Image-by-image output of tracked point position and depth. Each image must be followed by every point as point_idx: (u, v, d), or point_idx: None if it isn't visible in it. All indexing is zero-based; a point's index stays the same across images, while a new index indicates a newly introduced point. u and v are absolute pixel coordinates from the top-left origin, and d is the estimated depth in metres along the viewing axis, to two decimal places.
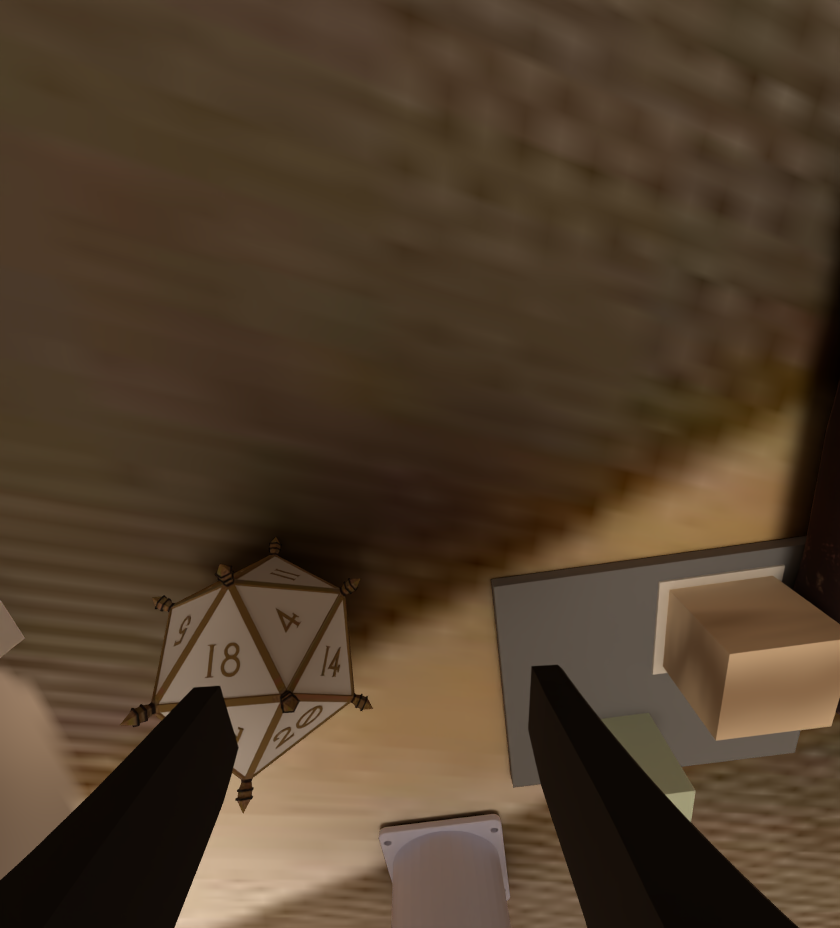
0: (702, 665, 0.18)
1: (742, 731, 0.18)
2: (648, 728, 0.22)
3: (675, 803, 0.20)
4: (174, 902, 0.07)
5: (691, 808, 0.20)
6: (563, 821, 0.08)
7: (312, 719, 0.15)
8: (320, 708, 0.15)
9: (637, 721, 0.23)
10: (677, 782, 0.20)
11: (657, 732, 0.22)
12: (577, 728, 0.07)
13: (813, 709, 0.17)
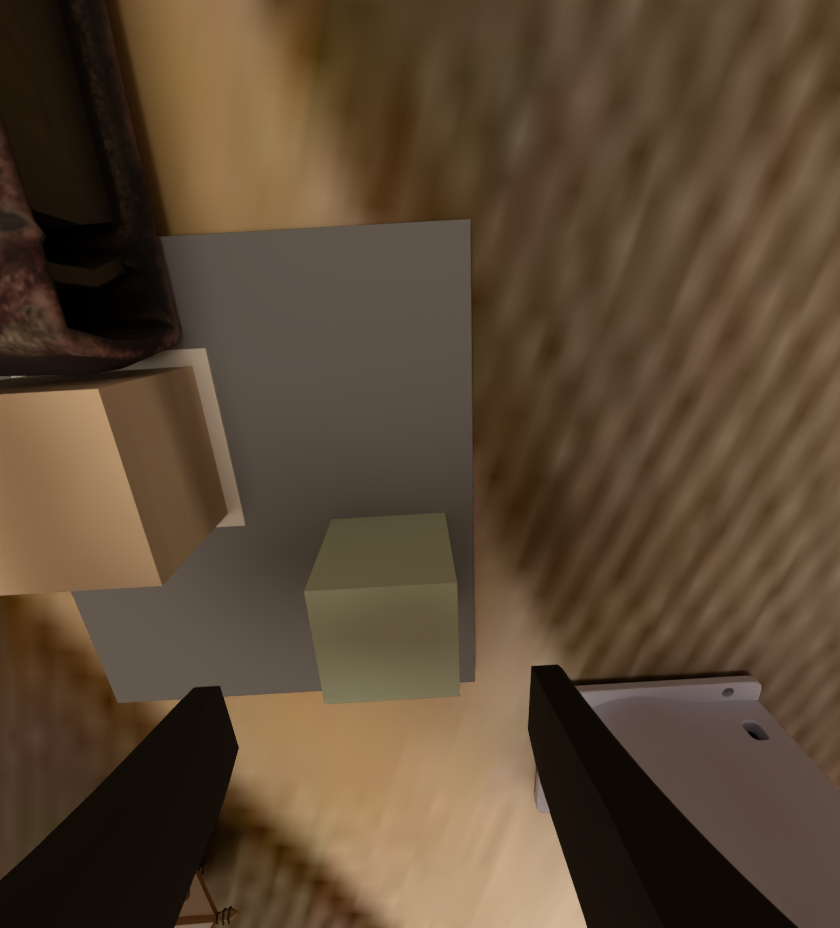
0: None
1: (134, 549, 0.10)
2: None
3: (337, 617, 0.11)
4: (173, 901, 0.07)
5: (354, 590, 0.11)
6: (563, 821, 0.08)
7: None
8: None
9: None
10: None
11: None
12: (577, 728, 0.07)
13: (57, 437, 0.09)
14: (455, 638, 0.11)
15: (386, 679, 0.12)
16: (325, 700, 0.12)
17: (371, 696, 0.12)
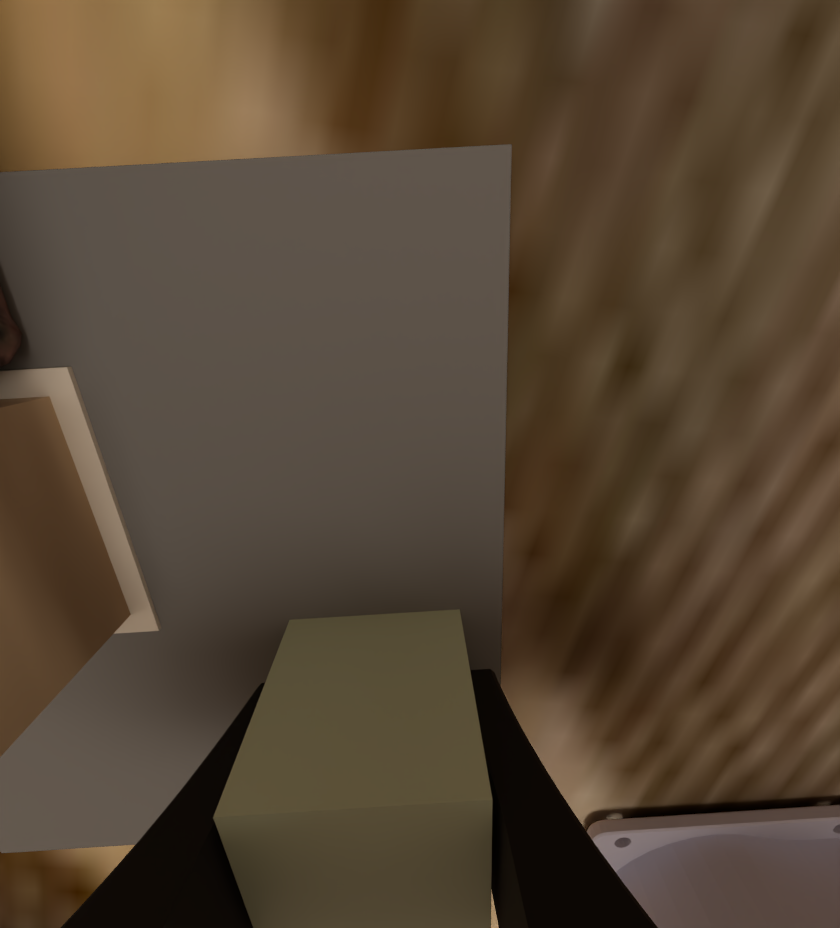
0: None
1: None
2: None
3: (278, 851, 0.06)
4: None
5: (305, 813, 0.06)
6: None
7: None
8: None
9: None
10: None
11: None
12: (493, 733, 0.07)
13: None
14: (486, 874, 0.07)
15: None
16: None
17: None
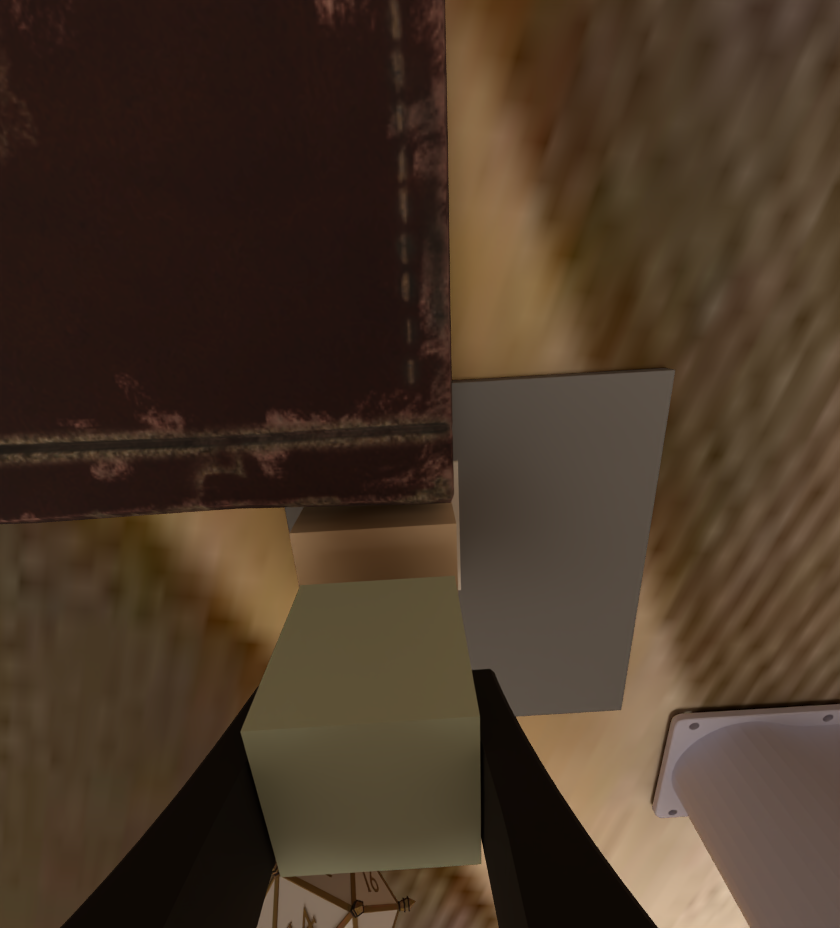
0: None
1: None
2: None
3: (295, 765, 0.07)
4: (257, 896, 0.07)
5: (319, 728, 0.07)
6: (483, 827, 0.08)
7: None
8: None
9: None
10: None
11: None
12: (493, 733, 0.07)
13: (418, 554, 0.13)
14: (475, 790, 0.07)
15: (371, 845, 0.08)
16: (282, 872, 0.08)
17: (350, 866, 0.08)
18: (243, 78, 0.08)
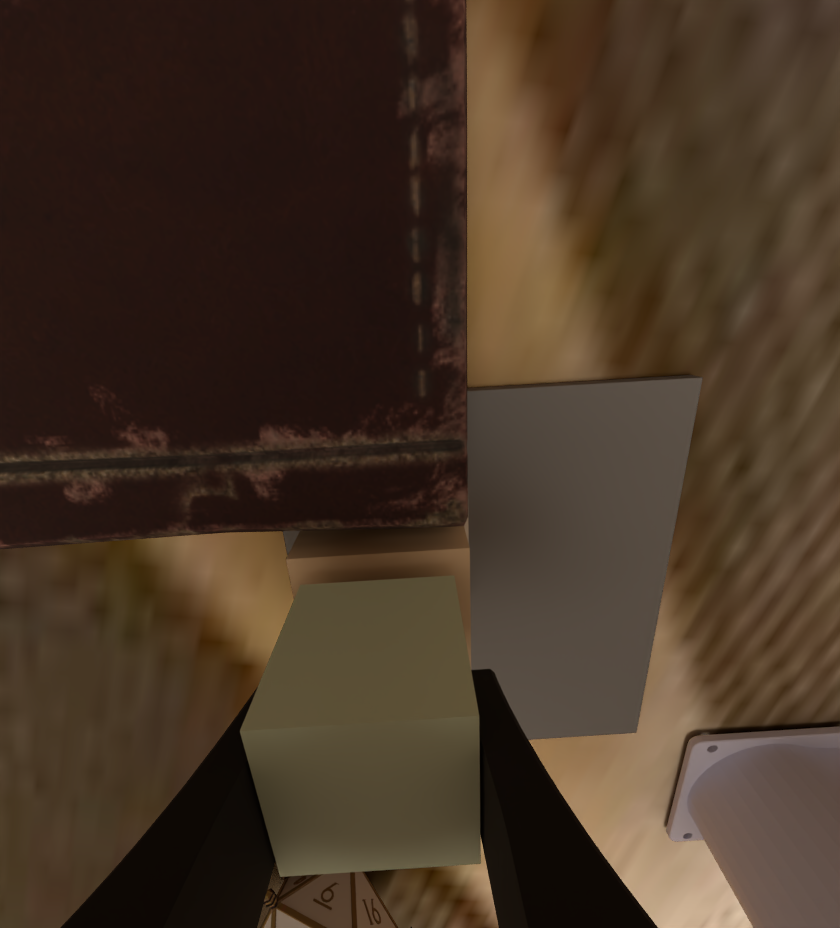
0: None
1: None
2: None
3: (294, 765, 0.07)
4: (257, 896, 0.07)
5: (319, 728, 0.07)
6: (483, 826, 0.08)
7: None
8: None
9: None
10: None
11: None
12: (493, 733, 0.07)
13: None
14: (475, 790, 0.07)
15: (371, 844, 0.08)
16: (281, 871, 0.08)
17: (349, 866, 0.08)
18: (231, 47, 0.07)
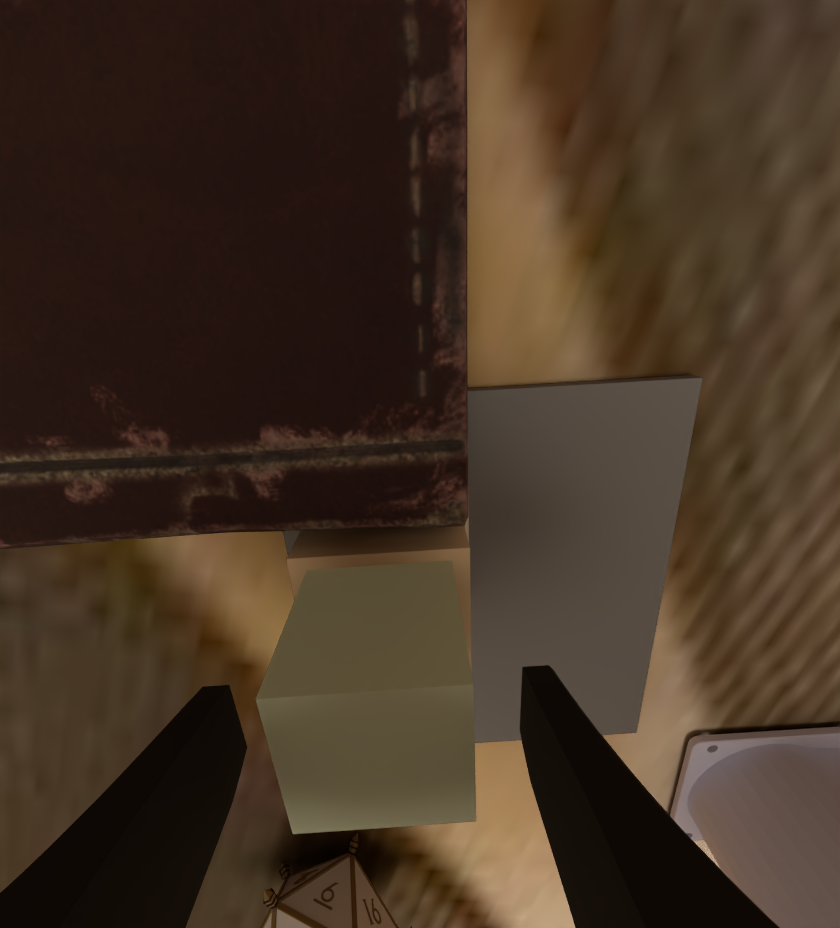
0: None
1: None
2: None
3: (305, 730, 0.08)
4: (185, 900, 0.07)
5: (328, 696, 0.08)
6: (553, 822, 0.08)
7: None
8: None
9: None
10: None
11: None
12: (566, 729, 0.07)
13: None
14: (470, 753, 0.08)
15: (376, 804, 0.09)
16: (293, 829, 0.09)
17: (356, 824, 0.09)
18: (232, 48, 0.07)
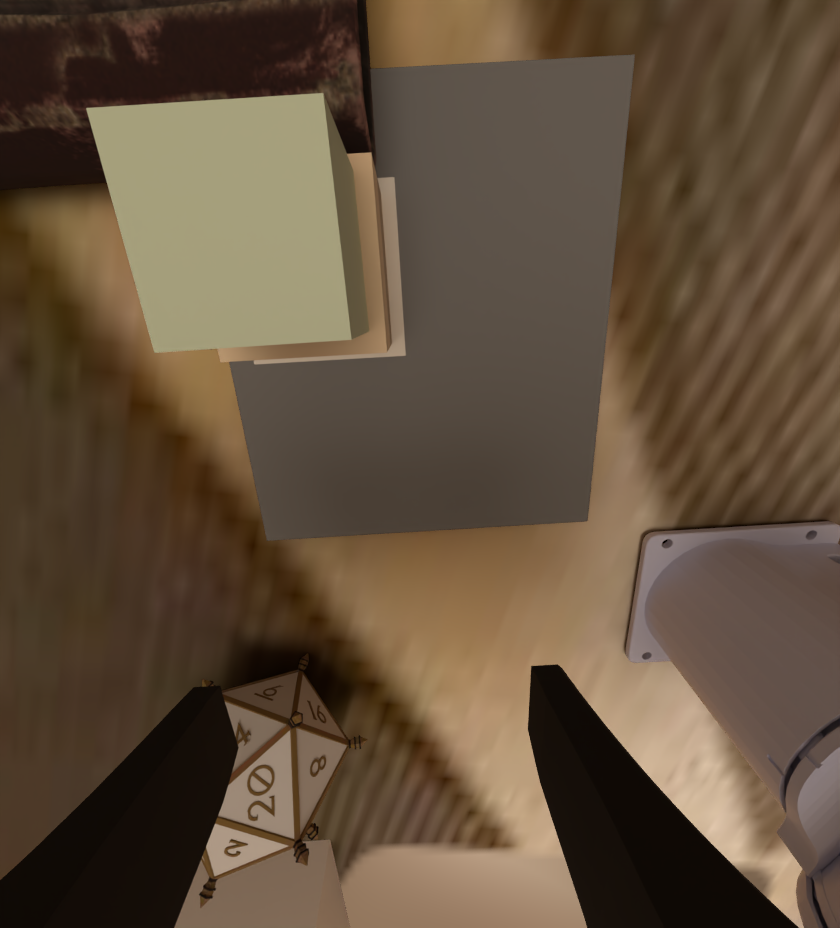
0: None
1: (370, 314, 0.12)
2: None
3: (147, 167, 0.07)
4: (173, 901, 0.07)
5: (165, 106, 0.07)
6: (563, 821, 0.08)
7: (271, 775, 0.17)
8: (261, 767, 0.17)
9: None
10: None
11: None
12: (577, 728, 0.07)
13: None
14: (333, 219, 0.08)
15: (239, 303, 0.08)
16: (155, 346, 0.08)
17: (221, 338, 0.08)
18: None
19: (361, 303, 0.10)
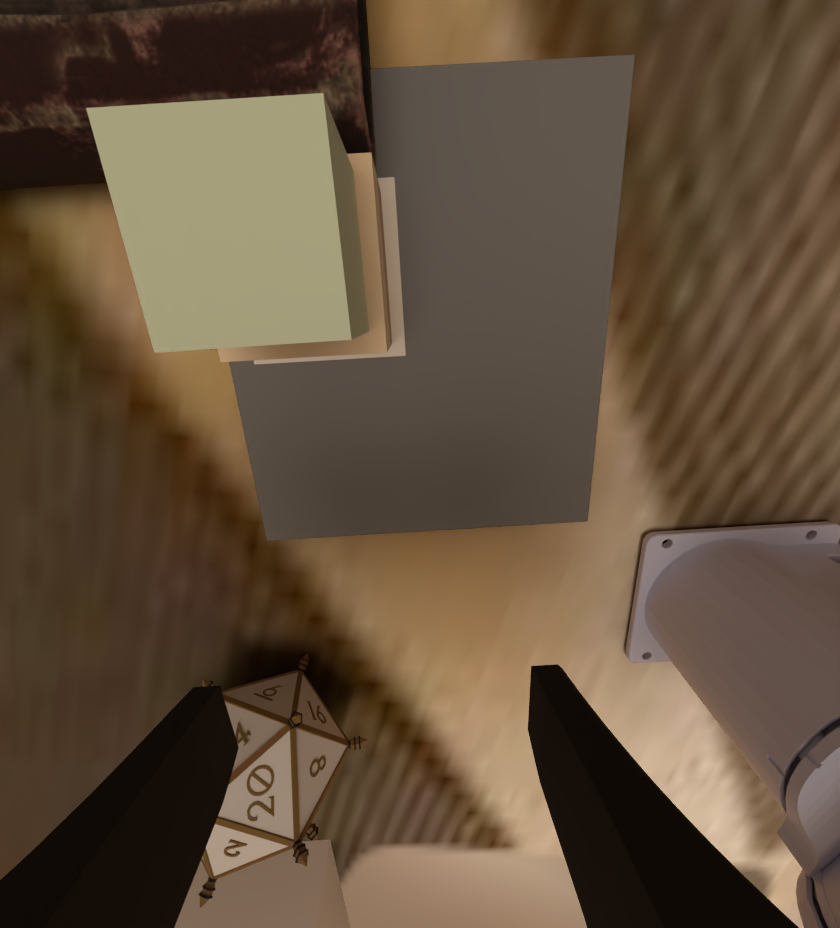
0: None
1: (370, 314, 0.12)
2: None
3: (147, 167, 0.07)
4: (173, 901, 0.07)
5: (165, 106, 0.07)
6: (563, 821, 0.08)
7: (270, 775, 0.17)
8: (261, 767, 0.17)
9: None
10: None
11: None
12: (577, 728, 0.07)
13: None
14: (333, 219, 0.08)
15: (239, 303, 0.08)
16: (155, 346, 0.08)
17: (221, 338, 0.08)
18: None
19: (361, 303, 0.10)
